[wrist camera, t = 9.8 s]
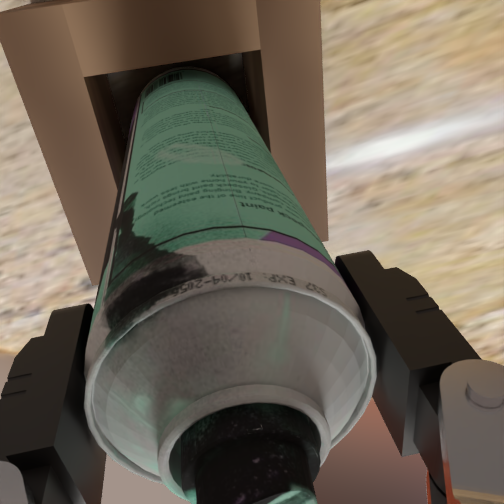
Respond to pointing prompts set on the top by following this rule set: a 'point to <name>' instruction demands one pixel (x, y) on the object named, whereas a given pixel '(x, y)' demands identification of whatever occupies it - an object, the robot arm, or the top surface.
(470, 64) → the top surface
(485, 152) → the top surface
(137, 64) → the walnut holder
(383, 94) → the top surface
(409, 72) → the top surface
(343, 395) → the spray can
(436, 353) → the robot arm
